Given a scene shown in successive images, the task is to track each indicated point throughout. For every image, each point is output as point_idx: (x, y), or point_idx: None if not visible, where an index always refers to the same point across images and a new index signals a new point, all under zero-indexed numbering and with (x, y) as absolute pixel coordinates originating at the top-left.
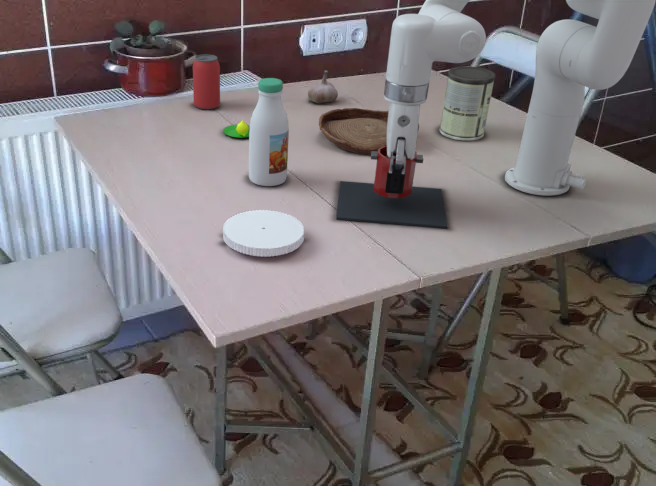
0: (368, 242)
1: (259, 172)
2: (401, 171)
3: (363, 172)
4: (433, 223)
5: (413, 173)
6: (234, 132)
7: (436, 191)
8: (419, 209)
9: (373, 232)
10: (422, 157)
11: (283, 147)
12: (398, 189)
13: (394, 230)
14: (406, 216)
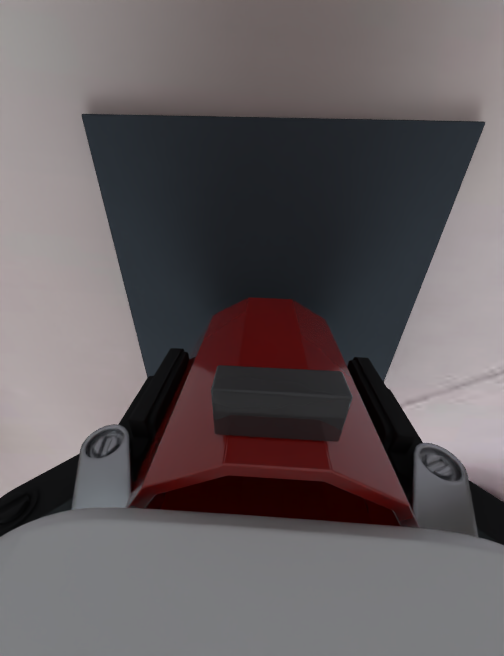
0: (488, 389)
1: None
2: (499, 503)
3: (71, 383)
4: (442, 194)
5: (315, 361)
6: None
7: (123, 147)
8: (313, 244)
9: (436, 377)
10: (286, 397)
11: None
12: (389, 390)
13: (437, 328)
14: (368, 294)
